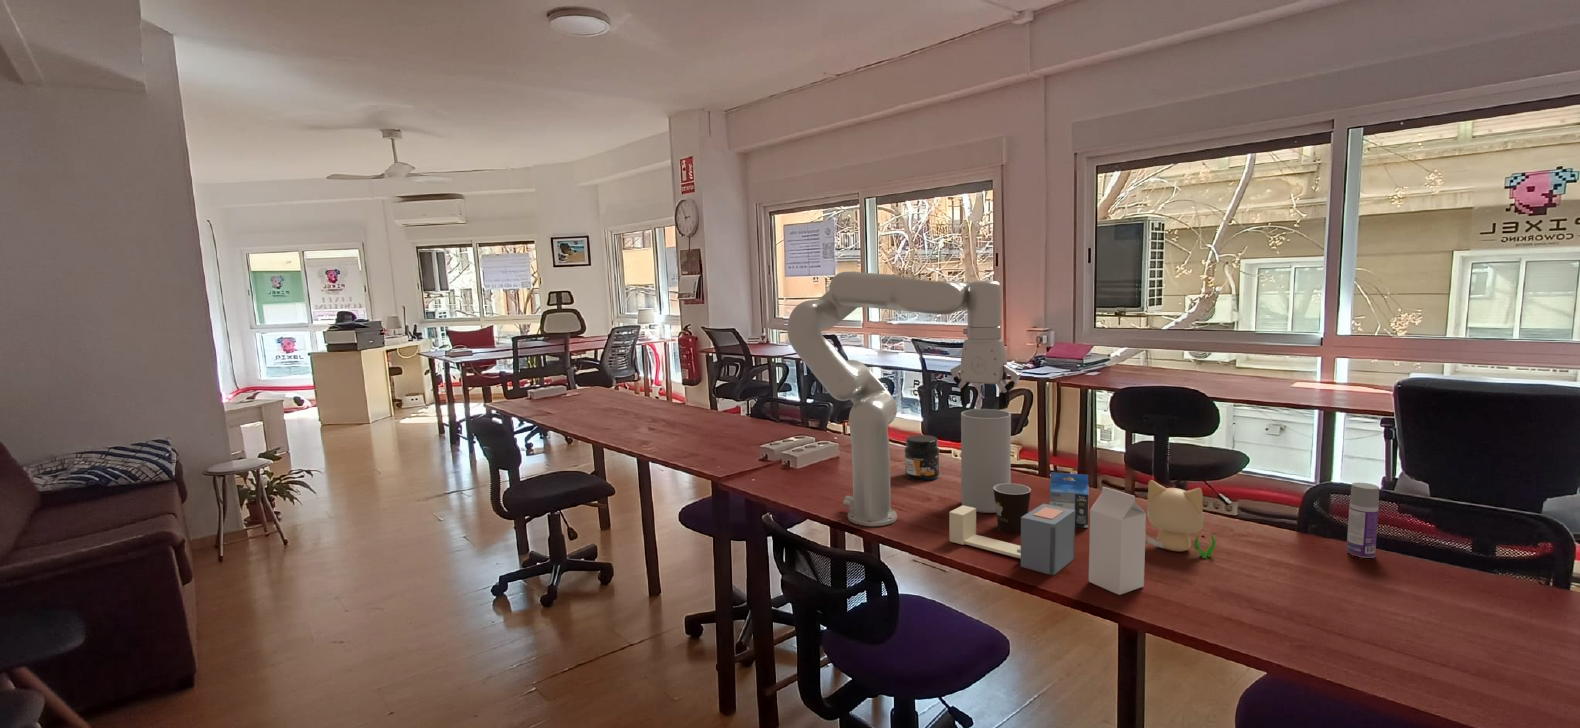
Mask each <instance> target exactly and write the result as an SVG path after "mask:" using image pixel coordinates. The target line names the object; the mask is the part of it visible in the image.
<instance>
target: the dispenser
mask: <svg viewBox="0 0 1580 728" xmlns="http://www.w3.org/2000/svg"><path fill="white" fill-rule="evenodd" d="M1075 542H1076V527H1075V510H1072V509H1067V508H1062V507H1057V506H1053V505H1049V503H1048V504H1047V503H1042V504H1040V505H1039V506H1037V507H1035V508H1033V509H1032V510H1029V511H1028V513H1027V514H1026V515H1024V516H1022V517H1021V533H1020V546H1021V547H1020V548H1019V549H1017V552H1018V553H1021V559H1020V568H1025V569H1029V570H1032V571H1035V572H1038V573H1039V572H1040V573H1043V574H1046V575H1048V576H1049V575H1051V576H1052V577H1053V576H1055V575H1056V574H1057V573H1058V572H1060V571H1061V570H1062V569H1063V568H1064V567H1067V565H1068V564H1069V563H1071V562H1073V560H1074V559H1075V556H1076V555H1075V554H1076V553H1075V548H1076V547H1075V544H1076V543H1075Z"/></svg>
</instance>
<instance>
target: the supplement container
mask: <svg viewBox="0 0 1580 728" xmlns="http://www.w3.org/2000/svg"><path fill="white" fill-rule="evenodd" d="M938 441H939V440H938V438H937V437H936V436H933V435H928V434H927V435H926V434H917V435H916V434H915V435H910V436H907V437H906V438H905V445H906V446H905V447H904V475H905V477H907V478H908V479H909V480H912V479H913V481H918V480H928V481H934V480H936V479H937V478H939V477H940V448H939V446H938V445H939V444H938Z"/></svg>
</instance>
